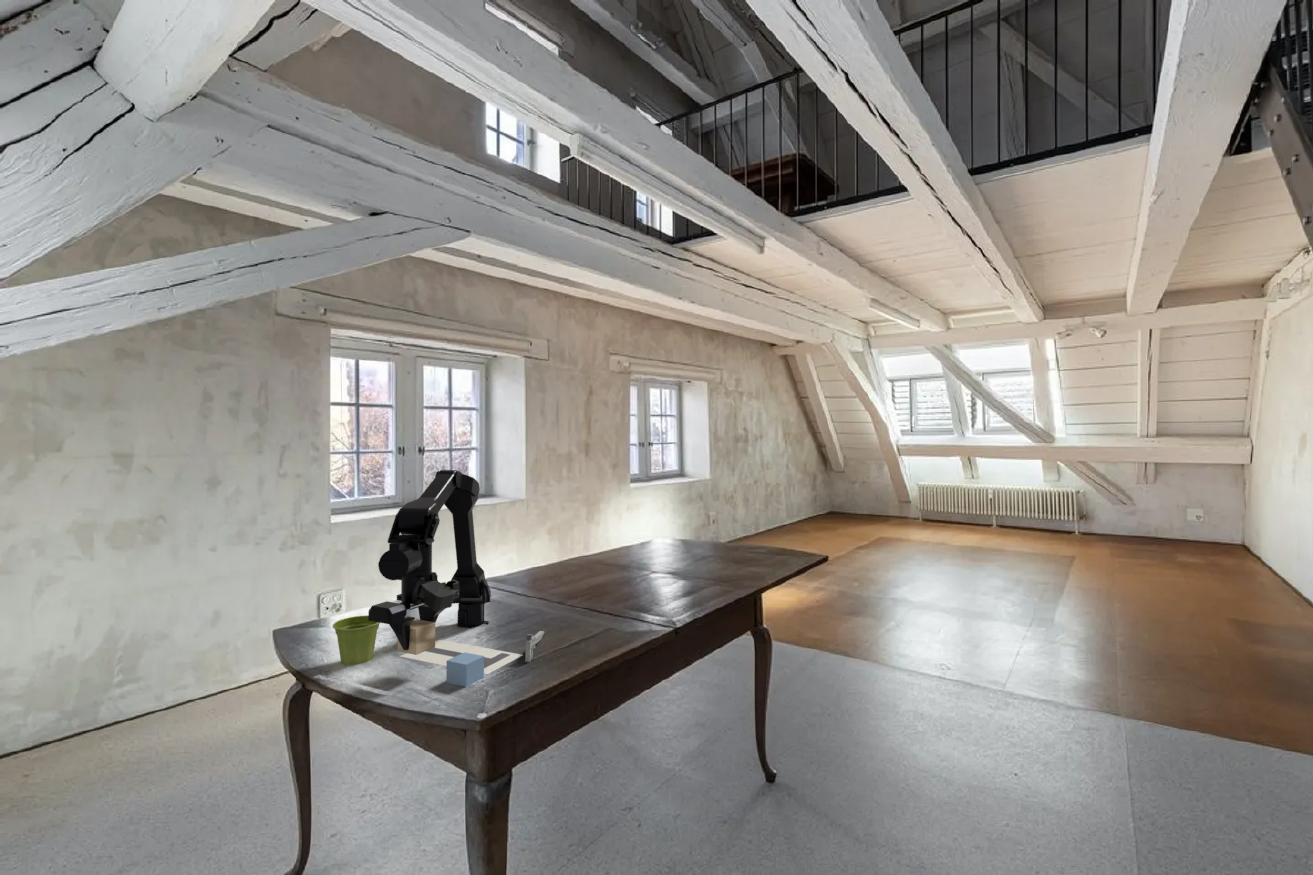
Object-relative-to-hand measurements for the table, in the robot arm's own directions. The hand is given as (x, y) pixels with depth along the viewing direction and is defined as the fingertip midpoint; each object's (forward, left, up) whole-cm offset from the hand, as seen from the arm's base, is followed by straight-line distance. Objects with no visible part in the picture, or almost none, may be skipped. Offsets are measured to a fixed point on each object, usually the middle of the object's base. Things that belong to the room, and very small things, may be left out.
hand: (416, 645), depth 120 cm
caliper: (-24, +12, -7) cm, 28 cm away
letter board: (-12, +1, -6) cm, 14 cm away
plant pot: (-1, -18, -7) cm, 19 cm away
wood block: (0, 0, -1) cm, 1 cm away
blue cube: (-2, +11, -7) cm, 13 cm away
